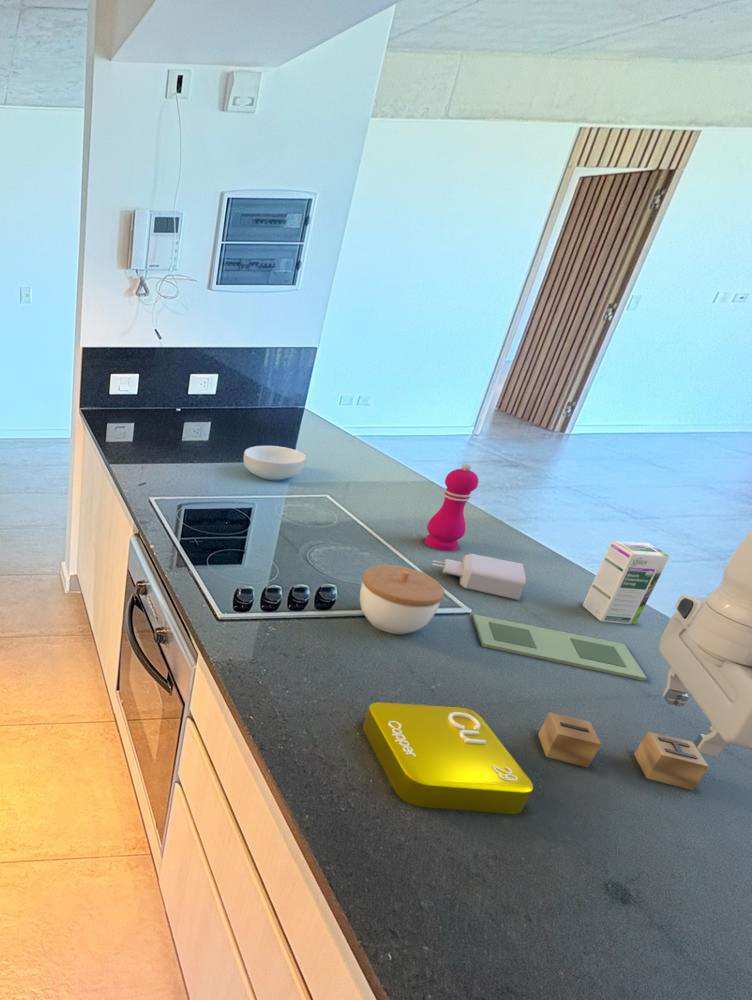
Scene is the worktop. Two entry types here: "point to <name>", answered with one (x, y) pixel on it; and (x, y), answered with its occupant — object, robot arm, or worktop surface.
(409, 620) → the lidded bowl
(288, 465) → the cereal bowl
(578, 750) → the block
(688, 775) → the block
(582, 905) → the worktop surface
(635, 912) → the worktop surface
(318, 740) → the worktop surface
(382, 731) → the element tile
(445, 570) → the charger
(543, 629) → the word board
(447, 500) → the pepper mill
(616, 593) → the syrup box
